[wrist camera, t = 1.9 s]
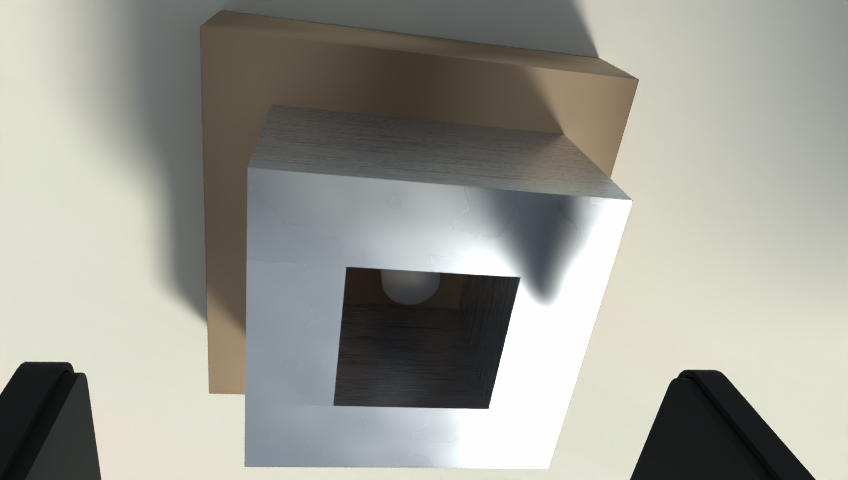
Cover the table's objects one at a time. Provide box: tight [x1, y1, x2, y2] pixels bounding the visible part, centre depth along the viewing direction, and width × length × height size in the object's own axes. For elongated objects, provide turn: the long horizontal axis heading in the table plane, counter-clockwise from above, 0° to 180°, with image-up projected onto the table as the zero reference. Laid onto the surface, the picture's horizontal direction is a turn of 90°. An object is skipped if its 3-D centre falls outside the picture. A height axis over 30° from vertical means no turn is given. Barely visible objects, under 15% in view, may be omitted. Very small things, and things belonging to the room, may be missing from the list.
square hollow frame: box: [245, 104, 633, 468], centre depth 14 cm, size 7×7×4 cm
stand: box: [200, 11, 639, 394], centre depth 16 cm, size 10×10×4 cm
